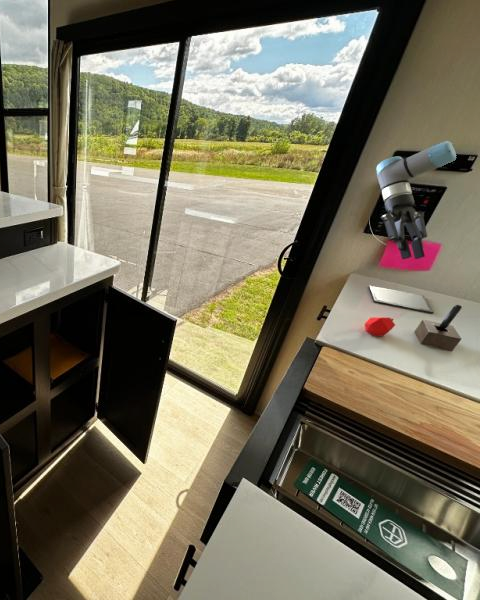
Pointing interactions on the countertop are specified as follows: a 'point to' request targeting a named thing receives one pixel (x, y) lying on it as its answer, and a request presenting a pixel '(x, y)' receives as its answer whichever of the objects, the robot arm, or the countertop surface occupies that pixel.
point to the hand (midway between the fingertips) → (413, 257)
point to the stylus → (449, 317)
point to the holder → (437, 335)
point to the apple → (379, 326)
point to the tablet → (400, 299)
